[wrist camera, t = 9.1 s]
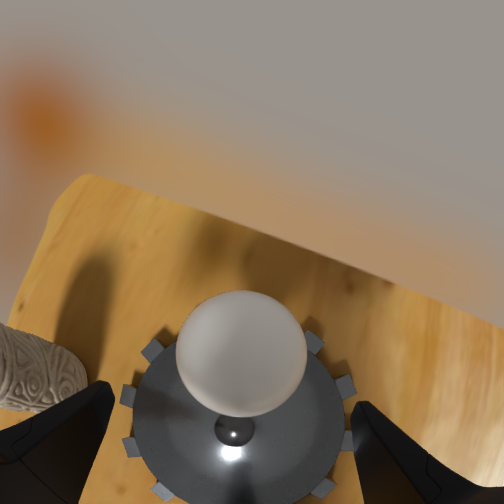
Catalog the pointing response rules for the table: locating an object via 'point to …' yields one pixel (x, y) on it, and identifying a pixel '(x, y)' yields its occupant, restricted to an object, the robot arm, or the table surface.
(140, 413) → the sprocket plate
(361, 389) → the table surface
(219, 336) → the lightbulb
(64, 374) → the carving
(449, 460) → the table surface
